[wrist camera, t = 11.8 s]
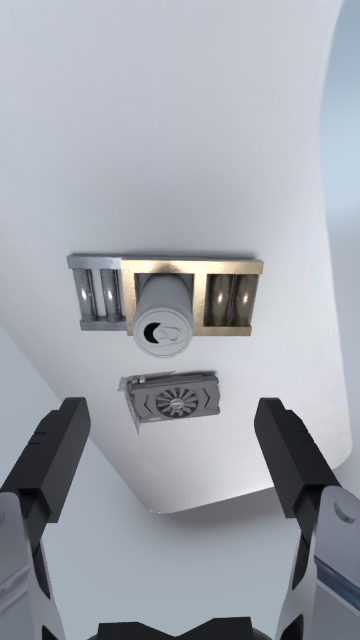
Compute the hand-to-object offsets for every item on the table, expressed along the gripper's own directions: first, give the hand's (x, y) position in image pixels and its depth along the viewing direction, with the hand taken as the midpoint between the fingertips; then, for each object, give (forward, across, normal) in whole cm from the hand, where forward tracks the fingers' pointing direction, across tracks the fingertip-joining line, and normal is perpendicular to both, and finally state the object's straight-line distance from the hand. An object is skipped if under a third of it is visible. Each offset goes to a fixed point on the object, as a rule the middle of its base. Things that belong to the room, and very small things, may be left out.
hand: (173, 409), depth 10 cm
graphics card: (+24, 0, +24) cm, 33 cm away
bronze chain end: (+23, -3, +3) cm, 24 cm away
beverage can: (+23, +1, +3) cm, 24 cm away
